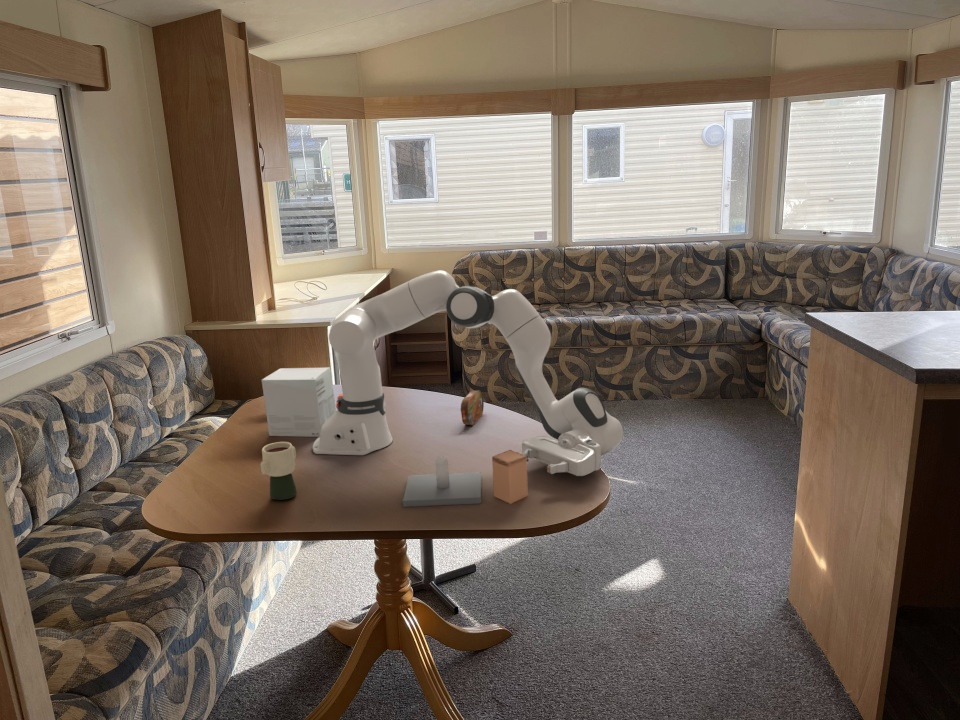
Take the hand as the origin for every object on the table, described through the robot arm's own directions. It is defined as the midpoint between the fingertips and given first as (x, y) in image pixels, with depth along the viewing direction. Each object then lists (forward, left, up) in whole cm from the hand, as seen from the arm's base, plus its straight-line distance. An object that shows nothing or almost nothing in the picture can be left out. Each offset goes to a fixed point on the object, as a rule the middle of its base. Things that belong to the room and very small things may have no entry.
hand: (534, 464), depth 168 cm
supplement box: (-68, +46, -6) cm, 83 cm away
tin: (-16, +47, -6) cm, 51 cm away
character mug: (-61, -1, -6) cm, 61 cm away
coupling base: (-22, -2, -5) cm, 23 cm away
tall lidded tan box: (-6, -6, -5) cm, 10 cm away
